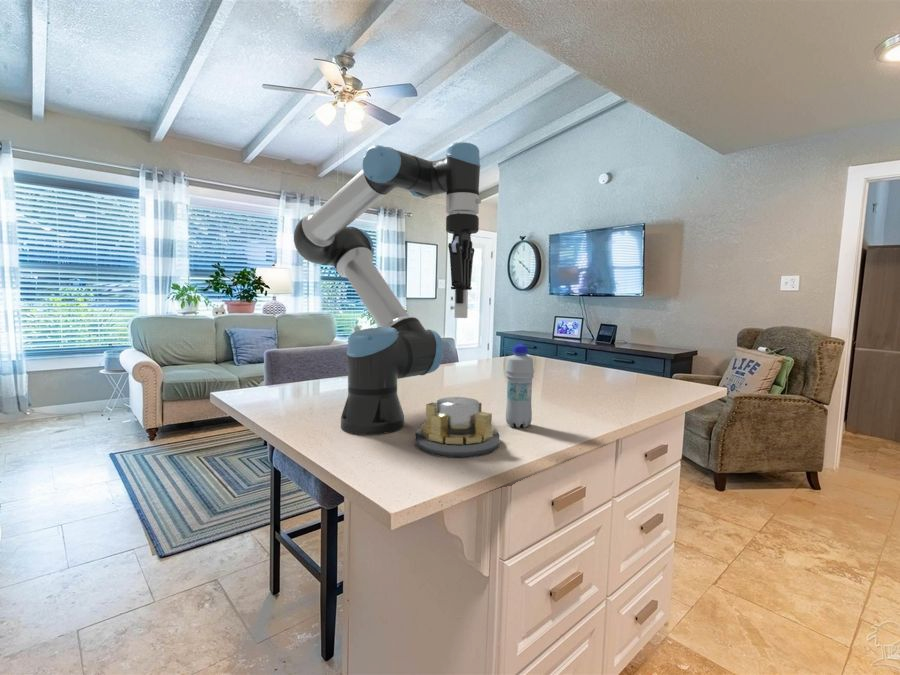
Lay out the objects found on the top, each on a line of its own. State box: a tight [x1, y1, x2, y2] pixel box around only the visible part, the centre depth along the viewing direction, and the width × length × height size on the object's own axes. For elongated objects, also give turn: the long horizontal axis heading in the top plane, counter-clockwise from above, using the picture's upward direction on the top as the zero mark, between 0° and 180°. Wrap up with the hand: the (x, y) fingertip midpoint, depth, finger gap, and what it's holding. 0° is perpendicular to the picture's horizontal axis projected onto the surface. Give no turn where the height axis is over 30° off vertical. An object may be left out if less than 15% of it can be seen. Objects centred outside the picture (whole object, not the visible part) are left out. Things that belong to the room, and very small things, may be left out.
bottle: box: [505, 344, 535, 429], centre depth 110 cm, size 7×7×20 cm
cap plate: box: [414, 396, 500, 459], centre depth 97 cm, size 18×18×9 cm
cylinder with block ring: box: [420, 402, 495, 444], centre depth 97 cm, size 15×15×5 cm
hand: (460, 317), depth 106 cm, fingers closed
